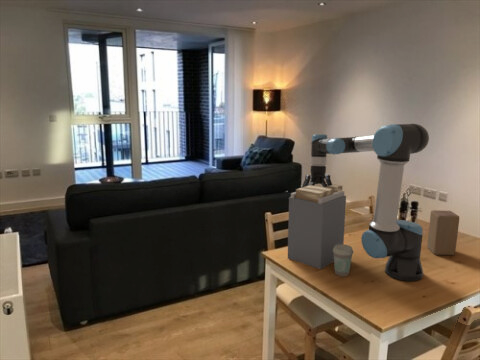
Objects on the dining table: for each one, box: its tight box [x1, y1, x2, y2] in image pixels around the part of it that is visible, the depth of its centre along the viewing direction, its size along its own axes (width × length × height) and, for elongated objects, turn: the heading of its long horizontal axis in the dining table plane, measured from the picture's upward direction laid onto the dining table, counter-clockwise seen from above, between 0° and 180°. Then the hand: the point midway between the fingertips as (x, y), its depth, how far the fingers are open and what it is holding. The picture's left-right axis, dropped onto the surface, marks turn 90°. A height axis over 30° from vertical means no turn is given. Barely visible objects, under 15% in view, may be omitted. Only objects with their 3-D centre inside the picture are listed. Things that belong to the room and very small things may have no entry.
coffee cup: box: [333, 243, 354, 277], centre depth 164 cm, size 8×8×12 cm
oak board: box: [295, 183, 343, 202], centre depth 179 cm, size 28×12×4 cm, turn 136°
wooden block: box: [426, 209, 460, 256], centre depth 186 cm, size 10×10×20 cm
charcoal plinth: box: [287, 190, 347, 270], centre depth 179 cm, size 20×18×32 cm
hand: (316, 207), depth 193 cm, fingers open, 13 cm apart
